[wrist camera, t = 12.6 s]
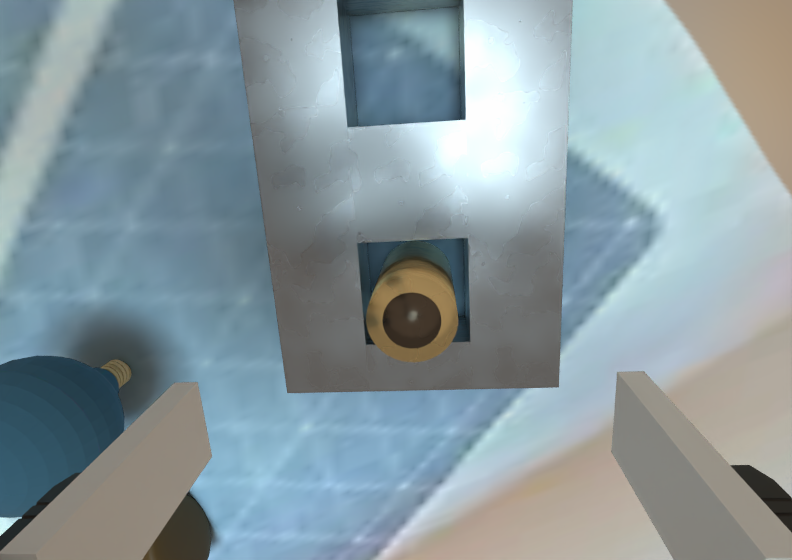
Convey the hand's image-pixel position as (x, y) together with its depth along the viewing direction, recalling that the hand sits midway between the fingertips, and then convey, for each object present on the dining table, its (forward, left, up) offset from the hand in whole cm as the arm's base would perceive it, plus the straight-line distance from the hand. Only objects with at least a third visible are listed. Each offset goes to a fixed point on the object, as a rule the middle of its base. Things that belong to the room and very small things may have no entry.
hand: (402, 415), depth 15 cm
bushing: (0, 0, -16) cm, 16 cm away
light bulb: (+6, -21, -17) cm, 27 cm away
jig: (-6, 0, -16) cm, 17 cm away
